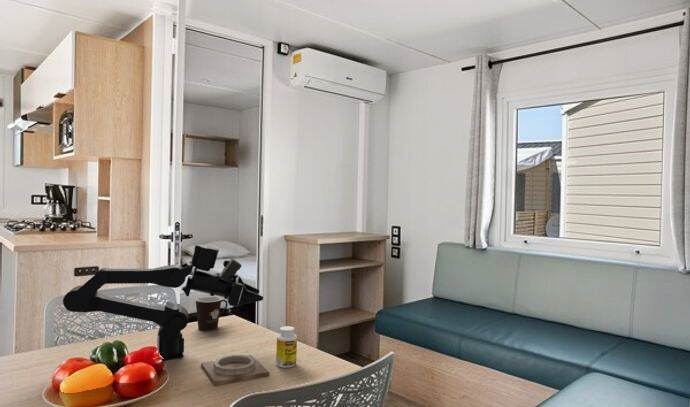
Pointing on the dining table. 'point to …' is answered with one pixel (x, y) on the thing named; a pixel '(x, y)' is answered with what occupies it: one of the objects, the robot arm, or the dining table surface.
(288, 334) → the supplement bottle
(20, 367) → the dining table surface
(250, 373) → the ring stand
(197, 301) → the coffee mug
